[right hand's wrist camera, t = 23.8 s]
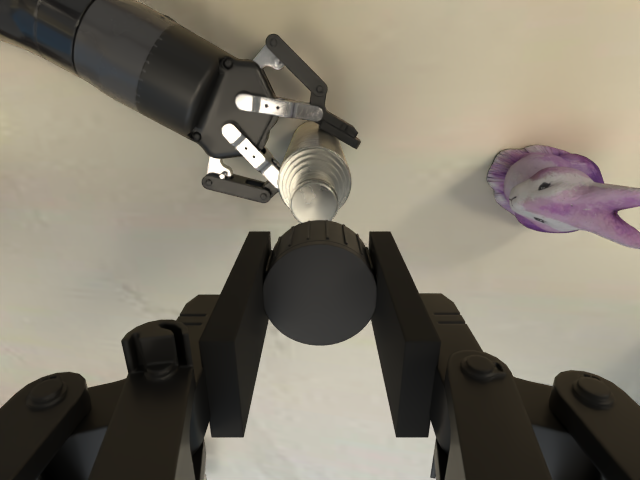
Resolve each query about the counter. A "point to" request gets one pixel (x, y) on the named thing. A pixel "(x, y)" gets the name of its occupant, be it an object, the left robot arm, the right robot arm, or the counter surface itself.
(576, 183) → the figurine
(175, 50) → the left robot arm
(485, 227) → the counter surface
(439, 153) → the counter surface
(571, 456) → the right robot arm
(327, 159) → the bottle
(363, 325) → the cap
